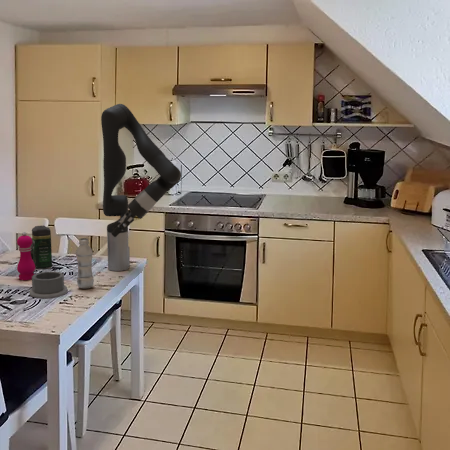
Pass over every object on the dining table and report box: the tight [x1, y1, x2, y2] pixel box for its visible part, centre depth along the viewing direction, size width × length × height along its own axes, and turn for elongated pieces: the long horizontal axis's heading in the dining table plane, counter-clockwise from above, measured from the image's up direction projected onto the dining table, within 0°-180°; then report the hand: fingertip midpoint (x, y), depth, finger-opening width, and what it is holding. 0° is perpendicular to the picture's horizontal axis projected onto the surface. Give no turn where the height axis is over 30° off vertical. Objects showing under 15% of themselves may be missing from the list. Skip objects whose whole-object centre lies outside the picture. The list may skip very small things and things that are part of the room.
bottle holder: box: [28, 271, 68, 299], centre depth 212 cm, size 14×14×7 cm
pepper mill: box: [16, 231, 36, 281], centre depth 228 cm, size 7×7×20 cm
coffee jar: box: [31, 225, 53, 270], centre depth 246 cm, size 10×8×19 cm
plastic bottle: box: [75, 237, 95, 290], centre depth 217 cm, size 6×7×20 cm
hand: (113, 233), depth 216 cm, fingers open, 8 cm apart
